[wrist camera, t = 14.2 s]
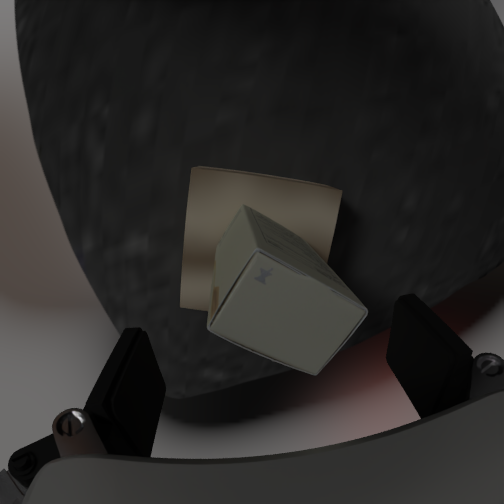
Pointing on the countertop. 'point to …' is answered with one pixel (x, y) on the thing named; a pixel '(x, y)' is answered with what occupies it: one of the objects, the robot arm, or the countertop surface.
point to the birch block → (258, 198)
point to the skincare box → (279, 295)
